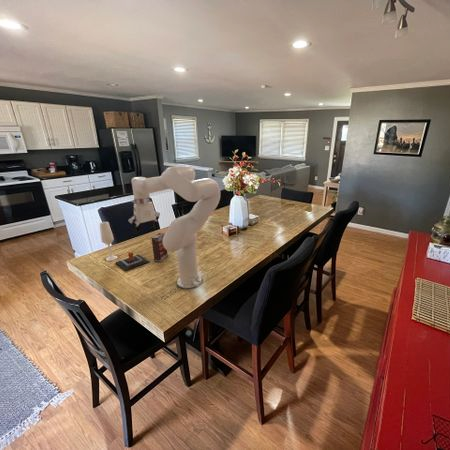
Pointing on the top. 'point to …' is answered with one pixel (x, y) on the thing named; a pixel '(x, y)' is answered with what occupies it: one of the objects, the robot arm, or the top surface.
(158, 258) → the supplement box
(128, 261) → the stud pad
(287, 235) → the top surface
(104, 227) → the champagne flute
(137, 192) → the robot arm
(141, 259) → the base pad
